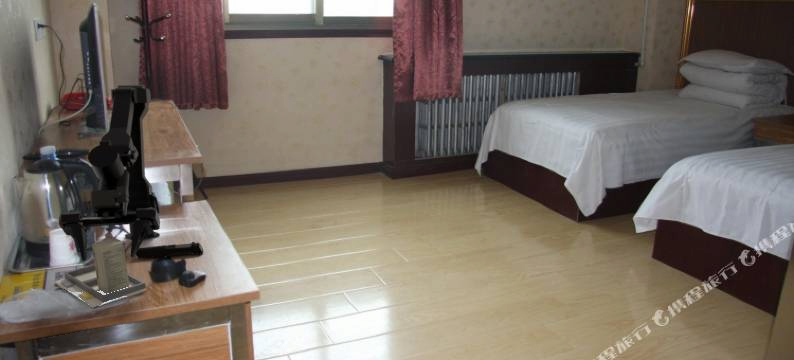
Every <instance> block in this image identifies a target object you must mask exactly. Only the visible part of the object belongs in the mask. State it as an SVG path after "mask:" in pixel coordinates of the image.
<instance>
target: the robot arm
mask: <svg viewBox="0 0 794 360" xmlns="http://www.w3.org/2000/svg"><path fill="white" fill-rule="evenodd" d="M110 94H111V104H112V108H111V116H110V120H109V128H108V132H107V133H105V134H104V135H102V136H101V140H100V141H99V145H96V146H95V147H94V148H92V149H91V150H89V153H88V154H87V160H88V162H89V164H90V166H91V168H92V171H93V173H94V174H95V176H96V178H97V179H99V187H98V190H91V191H90V208H92V212H93V213H94V215H95V214H96V216H93V217H92V216H90V217H85V216H84V214H83V212H82V211H68V212H63V213H61V215H60V216H59V217H58V225H59V227H60V228H61V229H62V231H63V232H64V235H66V236H70V237H71V238H72V239H75V240H76V243H77V246H78V250H79V254H80V257H81V260H82V261H83V262H86V260H87V257H88V256H87V255H88V239H89V238H88V237H89V235H88V234H87V232H88V228H90V227H91V228H93V227H94V228H95V227H107V226H109V227H111V226H123V225H124V226H126V225H129V226H128V227H129V233H126V234H124V237H125V238H127V239H129V240H131V244H130V245H131V246H130V257H131V259H133V258H135V256H136V252H137V251H138V249H139V248H141V245H142V244H143V242H144V241H145V240H149V239H152V238H156V237H159V236H160V233H159V232H156V231H158V230H160V229H161V227H160V226H161V219H160V213H161V210H160V204H159V200H158V197H157V196H156V194H155V192H154V191H153V185H152V184H151V183H150V181H149V180H148V178H147V177H146V172H145V171H146V168H145V146H144V127H143V124H144V123H143V120H144V118H145V117H146V116H147V114H148V112H149V109H150V108H149V103H151V101H152V100H151V99H152V98H151V97H152V96H151V90H150V88H146V86H145V84H122V85H121V84H119V85H117V87H116V88H111V89H110Z"/></svg>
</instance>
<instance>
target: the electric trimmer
mask: <svg viewBox="0 0 794 360" xmlns="http://www.w3.org/2000/svg"><path fill="white" fill-rule="evenodd" d="M200 254H201V255H203V254H204V249H203V247H202V245H201V244H200V242H194V241H191V242H190V243H181V244H176V243H175V244H167V245H166V244H164V245H155V246H145V247H139V249H138V251H137V252H136V254H135V256H136V257H137V258H139V259H141V258H143V259H145V258H147V259H151V258H153V259H159V258H160V259H163V258H162V257H165V256H167V257H173V256H185V255H187V256H188V255H197V256H200ZM165 258H166V257H165Z"/></svg>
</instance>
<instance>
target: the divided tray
mask: <svg viewBox="0 0 794 360" xmlns="http://www.w3.org/2000/svg"><path fill="white" fill-rule="evenodd" d="M63 274H64V278H62V279H59V280H55V281H54V283H55V285H57V286H58V287H60V288H61V289H62V290H64V289H65V290H64V291H66V290H69V291H71V292H81V293H82V292H83V293H82V294H78V297H80V298H81V299H82V300H83V301H85V302H86V303H87V304H89V305H90V306H91V307H92V308H91V307H90V306H89V307H90V308H91V309H93V308H94V307H96V306H99V305H101V304H102V303H104V302H107V301H109V300H113V299H116V298H120V297H122V296H129V297H132V296H135V295H137V294H140V293H144V292H146V291H147V287H146V282H145V281H143V280H141V279H139V278H137V277H135V276H134V275H131V274H130V273H128V279H129V287H128V288H125V289H122V290H119V291H115V292H112V293H109V294H106V295H102V294H101V293H99V292H97V291H100V289H99V288H98V282H97V276H96V269H95V263H94V264H91V265H88V266H84V267H81V268H78V269H74V270H71V271H67V272H64V273H63ZM87 304H86V305H87ZM94 309H95V308H94Z"/></svg>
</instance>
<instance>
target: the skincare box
mask: <svg viewBox="0 0 794 360" xmlns="http://www.w3.org/2000/svg"><path fill="white" fill-rule="evenodd" d="M91 251H92V256H93V261H94V264H95V269H96V276H97V282H98V288H99V289H100V290H101V291H103V292H104V293H106V294H107V293H111V292H114V291H117V290H120V289H123V288H126V287H129V279H128V274H129V272H128V266H127V260H126V253H125V246H124V241H122V240H120V239H119V238H117V237H111V238H108V239H105V240H101V241H97V242H94V243H91Z"/></svg>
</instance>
